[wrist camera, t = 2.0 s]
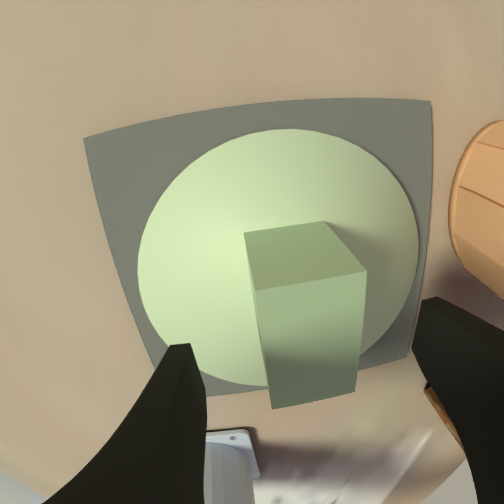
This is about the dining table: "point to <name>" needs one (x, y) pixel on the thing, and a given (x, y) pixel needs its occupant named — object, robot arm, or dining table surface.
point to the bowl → (480, 207)
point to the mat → (234, 125)
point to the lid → (279, 261)
